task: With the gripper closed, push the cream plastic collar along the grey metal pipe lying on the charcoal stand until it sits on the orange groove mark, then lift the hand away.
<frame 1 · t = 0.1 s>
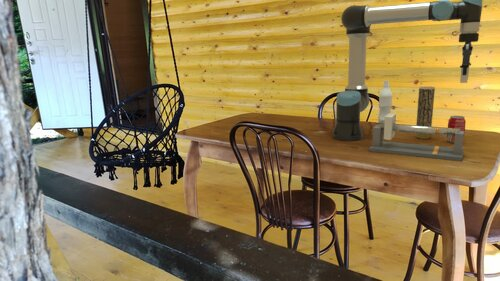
hand: (464, 81, 165), 28 cm above the table, tool pointing down, fingers open, 13 cm apart
pipe stand: (415, 151, 157), on the table
pipe: (416, 129, 155), point 10 cm above the table
water bottle: (384, 124, 214), on the table
collar: (389, 126, 160), point 10 cm above the table, slide at 0.0 cm
brown piece: (422, 138, 179), on the table
soda can: (454, 142, 170), on the table
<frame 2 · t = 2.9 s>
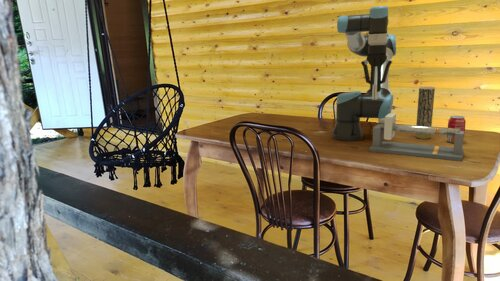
hand: (374, 99, 161), 22 cm above the table, tool pointing down, fingers closed
nothing on the table moved.
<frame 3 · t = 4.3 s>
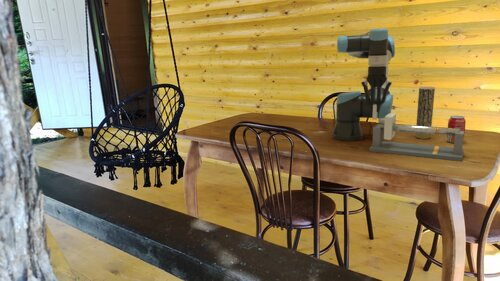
hand: (374, 118, 163), 13 cm above the table, tool pointing down, fingers closed
nothing on the table moved.
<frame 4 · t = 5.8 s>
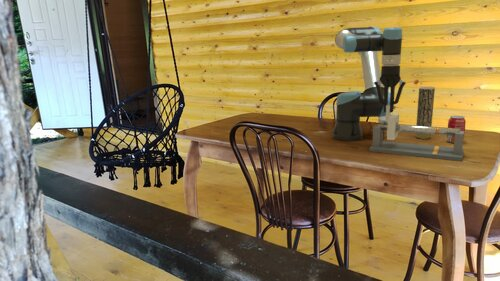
hand: (387, 119, 160), 14 cm above the table, tool pointing down, fingers closed
collar: (393, 126, 159), point 10 cm above the table, slide at 1.3 cm, touching gripper
everything else where it was.
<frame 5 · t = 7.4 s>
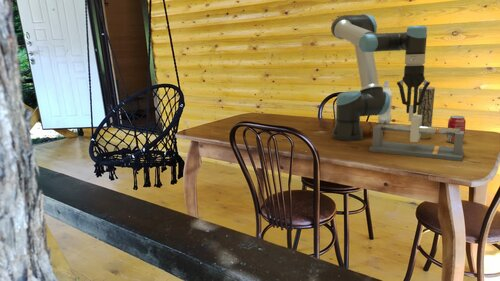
hand: (410, 120, 155), 14 cm above the table, tool pointing down, fingers closed
collar: (416, 128, 155), point 10 cm above the table, slide at 10.7 cm, touching gripper
everything else where it was.
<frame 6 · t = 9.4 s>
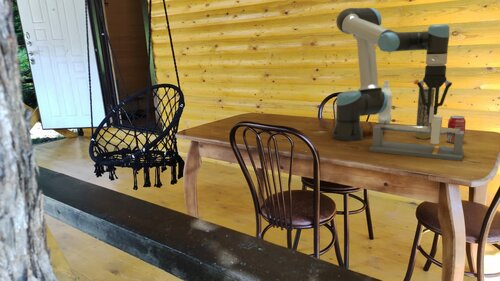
hand: (431, 122, 151), 13 cm above the table, tool pointing down, fingers closed
collar: (436, 129, 151), point 10 cm above the table, slide at 18.5 cm, touching gripper
everything else where it was.
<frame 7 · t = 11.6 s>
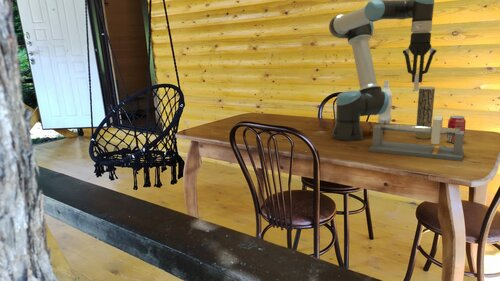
hand: (416, 90, 153), 26 cm above the table, tool pointing down, fingers closed
collar: (436, 129, 151), point 10 cm above the table, slide at 18.7 cm
everything else where it was.
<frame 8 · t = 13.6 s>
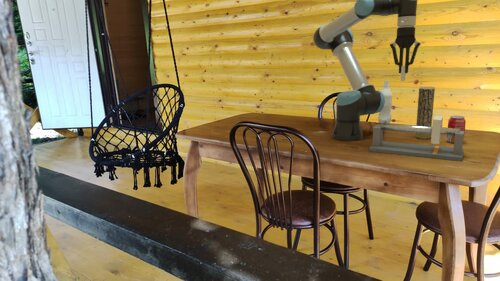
hand: (402, 80, 166), 29 cm above the table, tool pointing down, fingers closed
nothing on the table moved.
at the end: collar slide at 18.7 cm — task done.
